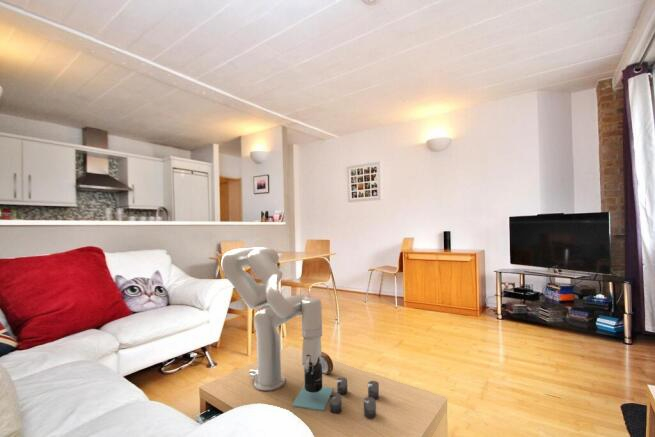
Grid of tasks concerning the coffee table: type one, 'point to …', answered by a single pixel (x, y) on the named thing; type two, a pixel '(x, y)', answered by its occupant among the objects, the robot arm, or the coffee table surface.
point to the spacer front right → (370, 408)
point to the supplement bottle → (318, 378)
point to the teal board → (313, 399)
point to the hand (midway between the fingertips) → (313, 378)
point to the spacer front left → (335, 403)
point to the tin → (326, 363)
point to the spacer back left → (342, 386)
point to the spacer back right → (373, 389)
